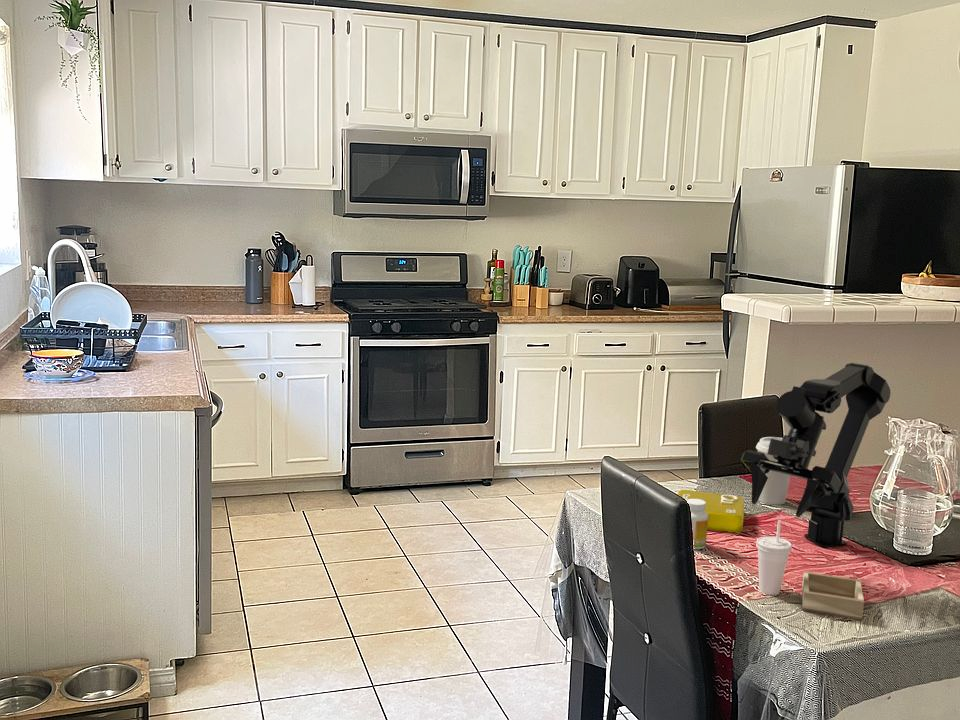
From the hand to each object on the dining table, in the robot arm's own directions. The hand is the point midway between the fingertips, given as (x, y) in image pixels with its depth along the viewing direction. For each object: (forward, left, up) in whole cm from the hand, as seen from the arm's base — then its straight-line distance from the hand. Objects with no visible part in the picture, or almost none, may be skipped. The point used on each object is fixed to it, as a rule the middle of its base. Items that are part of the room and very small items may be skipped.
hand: (774, 509), depth 180 cm
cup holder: (-3, +15, -13) cm, 20 cm away
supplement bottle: (+8, -16, -13) cm, 22 cm away
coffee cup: (-26, -38, -13) cm, 48 cm away
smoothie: (+5, +7, -13) cm, 16 cm away
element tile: (-4, -30, -14) cm, 34 cm away
